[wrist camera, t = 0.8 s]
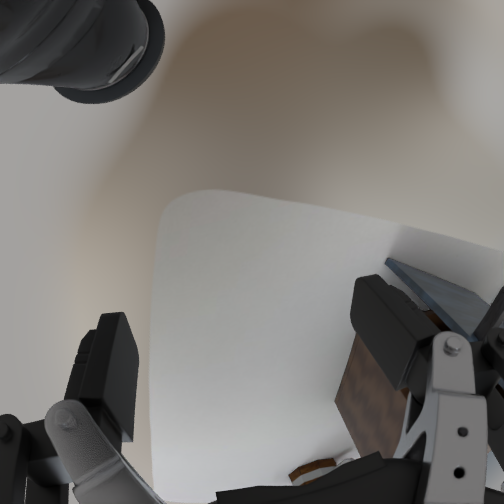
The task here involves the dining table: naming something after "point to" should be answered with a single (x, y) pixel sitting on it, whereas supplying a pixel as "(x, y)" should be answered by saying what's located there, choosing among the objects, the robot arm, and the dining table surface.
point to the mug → (314, 471)
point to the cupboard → (375, 401)
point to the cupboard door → (454, 303)
